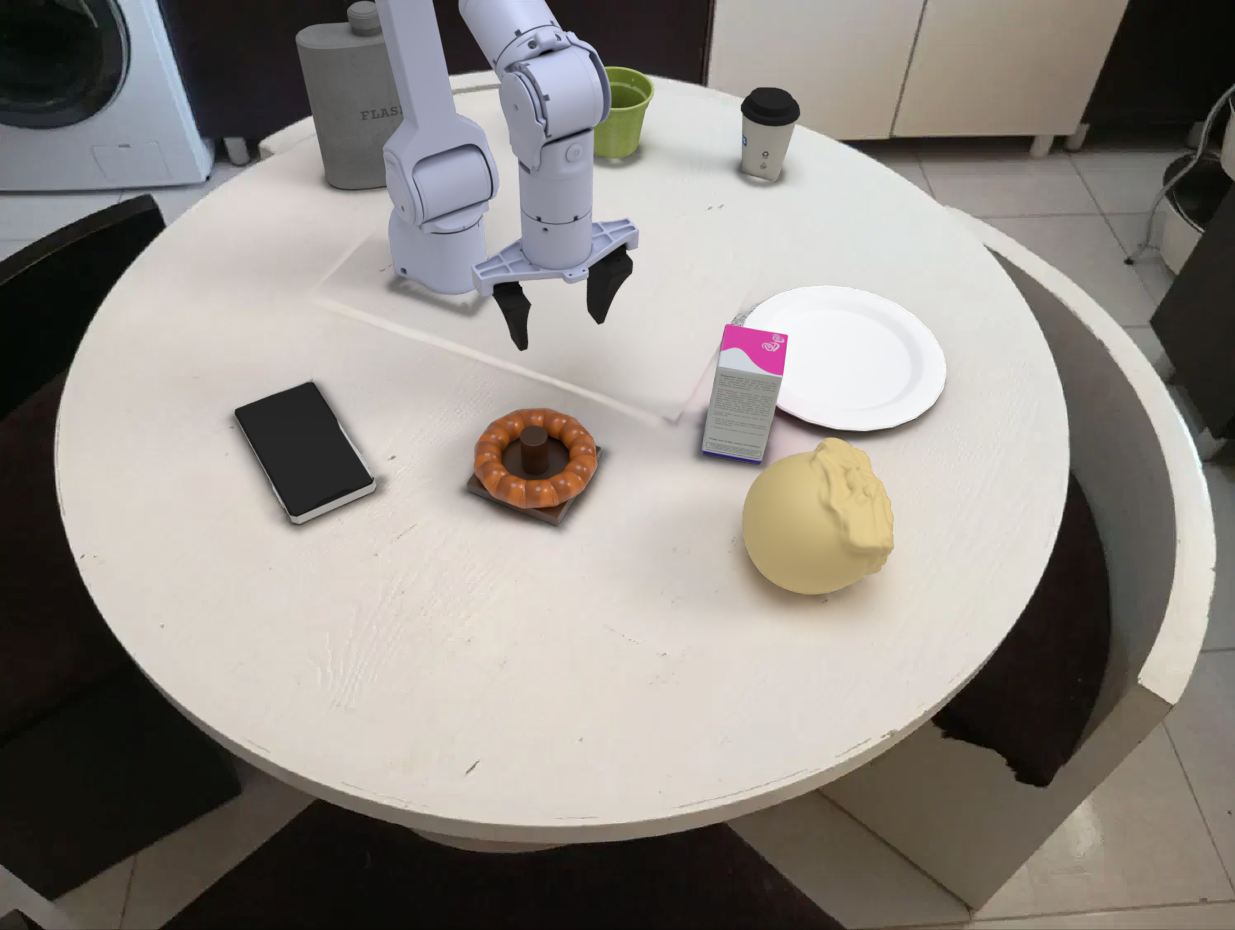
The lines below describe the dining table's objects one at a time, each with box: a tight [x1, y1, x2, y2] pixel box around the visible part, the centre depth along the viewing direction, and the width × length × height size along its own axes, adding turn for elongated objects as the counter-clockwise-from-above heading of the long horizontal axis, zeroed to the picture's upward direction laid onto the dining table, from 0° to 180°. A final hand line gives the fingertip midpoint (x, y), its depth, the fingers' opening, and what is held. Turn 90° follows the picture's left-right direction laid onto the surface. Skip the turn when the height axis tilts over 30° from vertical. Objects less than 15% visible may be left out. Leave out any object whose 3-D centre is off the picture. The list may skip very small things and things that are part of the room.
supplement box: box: [700, 323, 788, 465], centre depth 89 cm, size 6×6×12 cm
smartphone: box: [234, 380, 377, 525], centre depth 90 cm, size 8×1×15 cm
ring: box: [473, 407, 598, 509], centre depth 88 cm, size 11×11×2 cm
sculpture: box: [741, 437, 895, 595], centre depth 81 cm, size 12×12×11 cm
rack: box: [466, 425, 602, 527], centre depth 88 cm, size 9×9×5 cm
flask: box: [295, 0, 404, 190], centre depth 111 cm, size 15×6×20 cm, turn 112°
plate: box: [741, 284, 948, 433], centre depth 100 cm, size 21×21×2 cm
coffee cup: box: [740, 86, 801, 183], centre depth 117 cm, size 7×7×10 cm
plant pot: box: [592, 66, 655, 159], centre depth 120 cm, size 9×9×9 cm
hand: (558, 330), depth 89 cm, fingers open, 7 cm apart
